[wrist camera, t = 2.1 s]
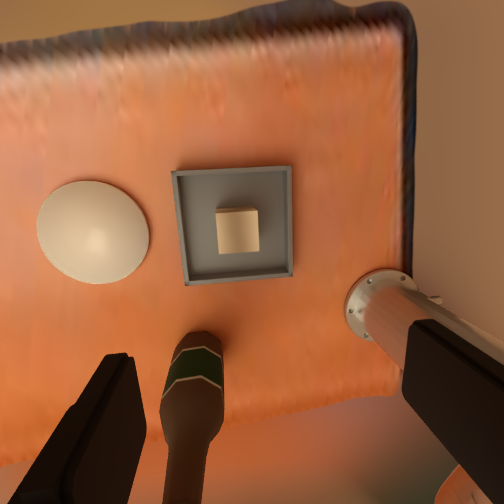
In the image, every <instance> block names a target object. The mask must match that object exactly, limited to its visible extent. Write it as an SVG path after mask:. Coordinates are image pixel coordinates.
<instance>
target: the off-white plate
mask: <svg viewBox="0 0 504 504" xmlns="http://www.w3.org/2000/svg"><path fill="white" fill-rule="evenodd" d="M36 227H37V236H38V240H39V243H40V246H41V248H42V250H43V252H44V254H45V255H46V257H47V258H48V259H49V261H50V262H51V263H52V264H53V265H54V266H55V267H56V268H57V269H58V270H60V271H61V272H62V273H64V274H66V275H67V276H69V277H71V278H73V279H76V280H78V281H82V282H86V283H92V284H106V283H112V282H115V281H118V280H121V279H123V278H125V277H126V276H128V275H129V274H131V273H132V272H133V271H134V270H135V269H136V268H137V267H138V266H139V265H140V264H141V262H142V261H143V260H144V258H145V256H146V254H147V251H148V247H149V242H150V233H149V226H148V222H147V220H146V217H145V215H144V213H143V211H142V210H141V208H140V207H139V205H138V204H137V203H136V202H135V201H134V199H132V198H131V197H130V196H129V195H128V194H127V193H125V192H124V191H122V190H121V189H119V188H117V187H115V186H112V185H110V184H107V183H103V182H97V181H78V182H73V183H69V184H66V185H64V186H61V187H60V188H58V189H56V190H55V191H54V192H52V193H51V194H50V195H49V196H48V197H47V198H46V199H45V201H44V202H43V204H42V206H41V208H40V210H39V213H38V217H37V224H36Z"/></svg>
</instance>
